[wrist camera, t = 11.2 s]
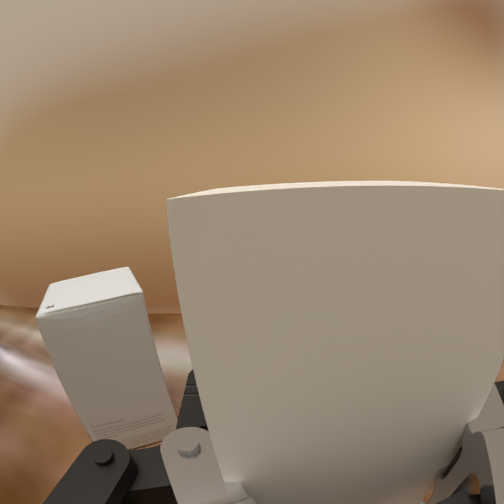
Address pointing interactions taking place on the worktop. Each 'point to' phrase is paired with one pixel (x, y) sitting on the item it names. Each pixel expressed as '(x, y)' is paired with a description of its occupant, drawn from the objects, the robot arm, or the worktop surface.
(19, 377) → the worktop surface
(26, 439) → the worktop surface
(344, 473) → the cream block
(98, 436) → the supplement box
